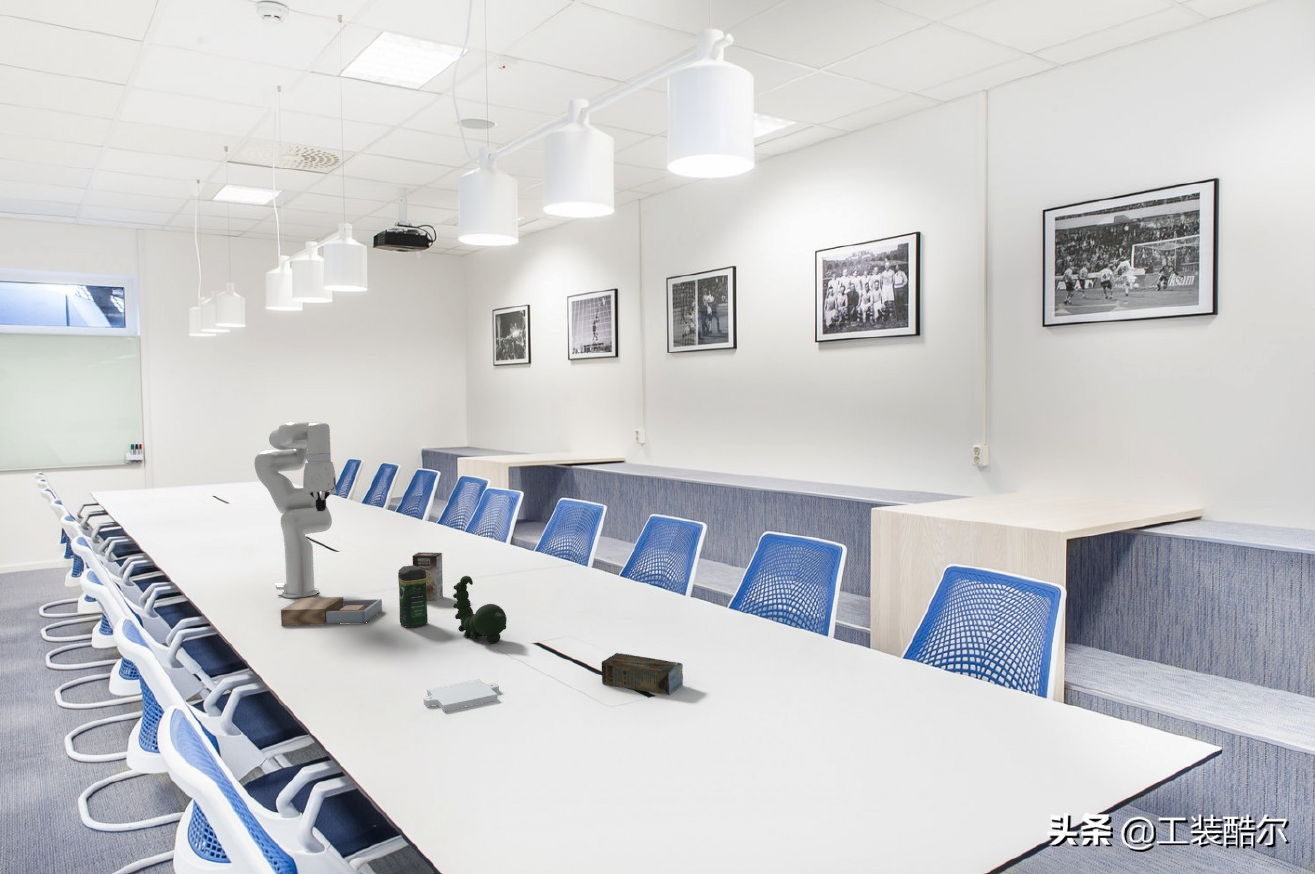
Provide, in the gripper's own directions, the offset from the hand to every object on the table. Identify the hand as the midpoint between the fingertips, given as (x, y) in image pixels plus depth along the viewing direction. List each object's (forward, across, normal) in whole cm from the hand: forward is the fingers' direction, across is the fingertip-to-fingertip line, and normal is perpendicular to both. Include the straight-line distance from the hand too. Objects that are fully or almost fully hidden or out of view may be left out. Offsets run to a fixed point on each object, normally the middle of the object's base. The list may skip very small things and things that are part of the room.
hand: (321, 510), depth 301 cm
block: (+29, +18, -20) cm, 40 cm away
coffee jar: (+32, +40, -30) cm, 60 cm away
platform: (+33, +4, -20) cm, 39 cm away
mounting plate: (+32, +72, -97) cm, 125 cm away
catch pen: (+33, +18, -20) cm, 42 cm away
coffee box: (+33, +35, +5) cm, 49 cm away
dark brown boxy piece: (+32, +115, -90) cm, 149 cm away
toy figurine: (+32, +66, -47) cm, 87 cm away
